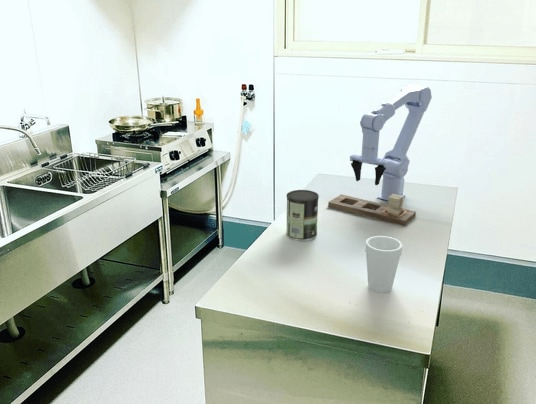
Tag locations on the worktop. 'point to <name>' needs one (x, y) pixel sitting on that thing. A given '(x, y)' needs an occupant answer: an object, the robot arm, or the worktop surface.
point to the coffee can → (302, 215)
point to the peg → (395, 204)
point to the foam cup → (382, 262)
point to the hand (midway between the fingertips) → (367, 182)
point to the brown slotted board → (379, 213)
